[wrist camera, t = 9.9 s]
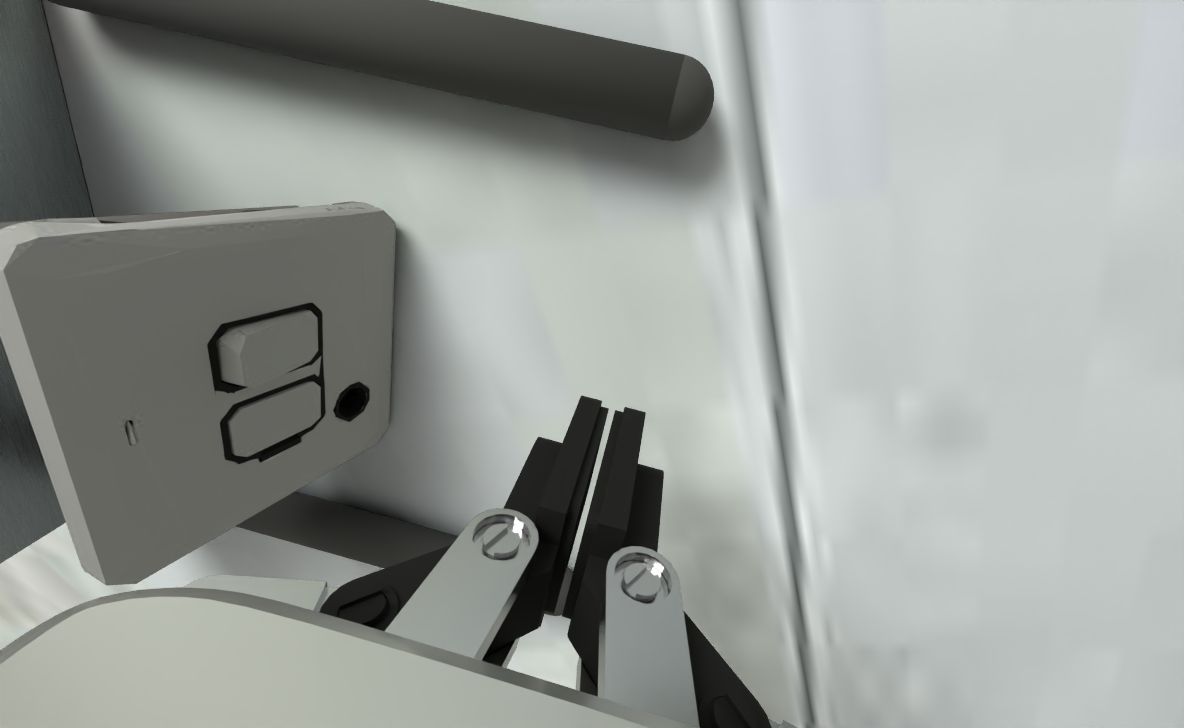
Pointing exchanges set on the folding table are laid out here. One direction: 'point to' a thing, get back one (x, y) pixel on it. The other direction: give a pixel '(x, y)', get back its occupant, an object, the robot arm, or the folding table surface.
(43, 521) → the panel
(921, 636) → the folding table surface
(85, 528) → the electrical switch
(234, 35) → the cable near
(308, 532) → the cable far
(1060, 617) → the folding table surface
